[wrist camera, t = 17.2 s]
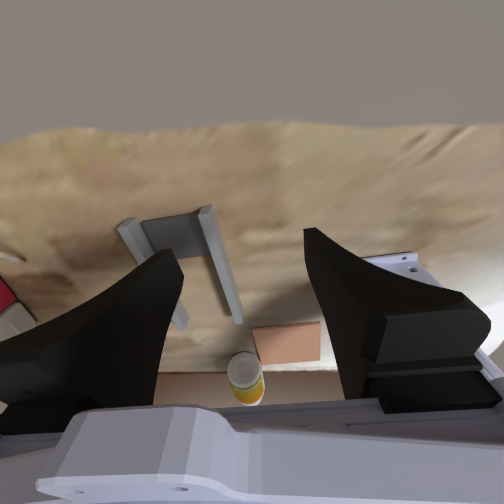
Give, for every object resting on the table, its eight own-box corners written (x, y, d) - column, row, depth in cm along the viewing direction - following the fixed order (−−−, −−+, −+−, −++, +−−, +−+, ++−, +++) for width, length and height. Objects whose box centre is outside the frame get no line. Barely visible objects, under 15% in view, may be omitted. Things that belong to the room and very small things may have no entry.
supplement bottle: (223, 385, 32) (234, 411, 38) (259, 387, 31) (265, 413, 37) (230, 350, 37) (238, 378, 42) (262, 351, 36) (266, 379, 41)
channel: (211, 204, 21) (208, 213, 20) (243, 311, 30) (242, 323, 29) (126, 218, 22) (116, 228, 21) (181, 318, 31) (178, 330, 30)
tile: (319, 321, 32) (320, 323, 31) (319, 358, 37) (320, 360, 37) (251, 328, 33) (251, 330, 32) (261, 362, 38) (261, 365, 38)
